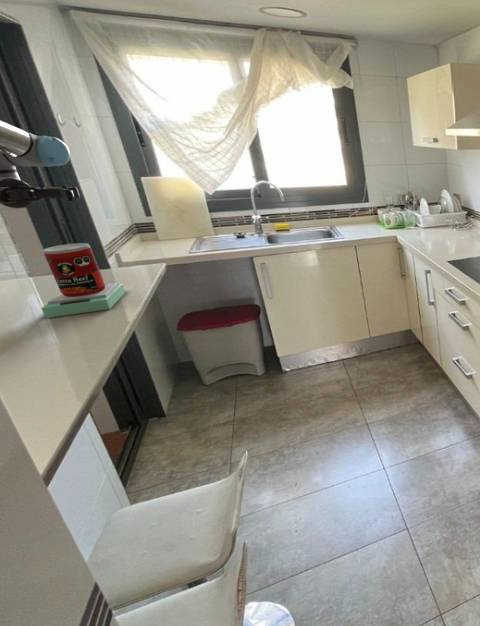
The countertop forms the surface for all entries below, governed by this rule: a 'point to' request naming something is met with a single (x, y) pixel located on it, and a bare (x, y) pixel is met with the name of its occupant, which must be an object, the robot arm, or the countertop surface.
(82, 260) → the canned food
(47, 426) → the countertop surface
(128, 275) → the countertop surface
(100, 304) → the scale
